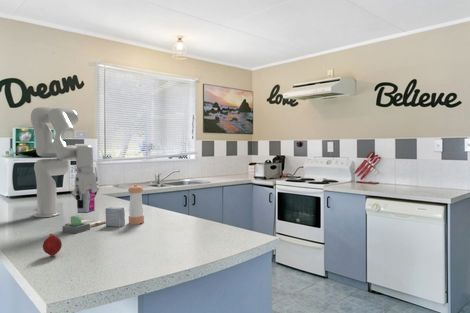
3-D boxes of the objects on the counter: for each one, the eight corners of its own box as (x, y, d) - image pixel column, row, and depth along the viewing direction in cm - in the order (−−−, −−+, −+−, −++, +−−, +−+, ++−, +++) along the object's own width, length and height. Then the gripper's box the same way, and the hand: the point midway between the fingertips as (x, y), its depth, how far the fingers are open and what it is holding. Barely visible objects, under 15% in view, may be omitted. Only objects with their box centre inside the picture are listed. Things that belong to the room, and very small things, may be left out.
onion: (47, 253, 121) (47, 231, 121) (64, 253, 122) (64, 230, 122) (39, 259, 116) (39, 235, 115) (57, 258, 116) (56, 235, 116)
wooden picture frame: (65, 225, 166) (65, 222, 166) (83, 220, 176) (83, 218, 176) (90, 227, 160) (89, 225, 160) (107, 222, 170) (107, 220, 170)
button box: (62, 231, 153) (62, 226, 153) (77, 227, 160) (76, 222, 160) (75, 233, 150) (75, 227, 150) (89, 229, 157) (89, 223, 157)
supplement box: (88, 213, 164) (87, 189, 164) (77, 212, 165) (76, 189, 165) (95, 210, 170) (94, 188, 169) (84, 210, 171) (84, 188, 171)
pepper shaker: (128, 225, 164) (127, 185, 164) (129, 221, 171) (128, 183, 171) (144, 223, 166) (143, 184, 166) (143, 220, 173) (143, 183, 173)
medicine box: (125, 225, 165) (124, 207, 164) (119, 227, 160) (118, 208, 160) (111, 224, 167) (111, 206, 167) (105, 226, 163) (105, 208, 163)
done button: (68, 228, 154) (68, 217, 153) (76, 226, 158) (76, 215, 158) (75, 229, 152) (75, 218, 152) (83, 226, 156) (83, 216, 156)
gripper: (76, 171, 158) (77, 210, 158) (104, 169, 173) (105, 204, 174) (64, 171, 160) (65, 209, 161) (92, 169, 176) (93, 203, 177)
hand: (86, 206), depth 167 cm, fingers closed on supplement box, 6 cm apart
